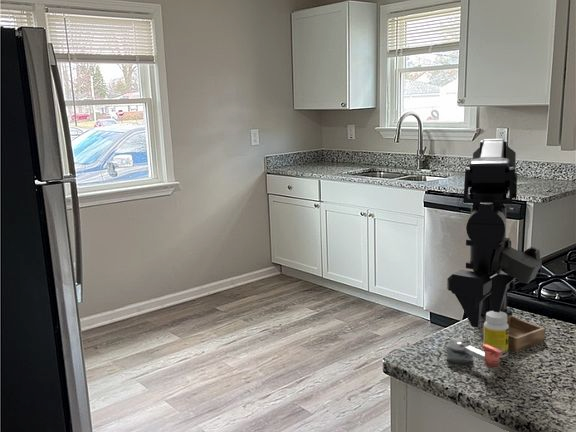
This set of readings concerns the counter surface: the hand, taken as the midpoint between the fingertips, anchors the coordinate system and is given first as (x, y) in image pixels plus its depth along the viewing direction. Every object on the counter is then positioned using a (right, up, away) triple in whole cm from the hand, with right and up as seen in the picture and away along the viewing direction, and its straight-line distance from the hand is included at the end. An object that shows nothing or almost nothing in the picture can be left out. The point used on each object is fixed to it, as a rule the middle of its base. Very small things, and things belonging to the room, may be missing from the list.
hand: (486, 319), depth 100 cm
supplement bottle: (+7, -10, +14) cm, 19 cm away
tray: (+13, -8, +20) cm, 25 cm away
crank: (+1, -9, +9) cm, 12 cm away
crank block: (-1, -10, +13) cm, 16 cm away
